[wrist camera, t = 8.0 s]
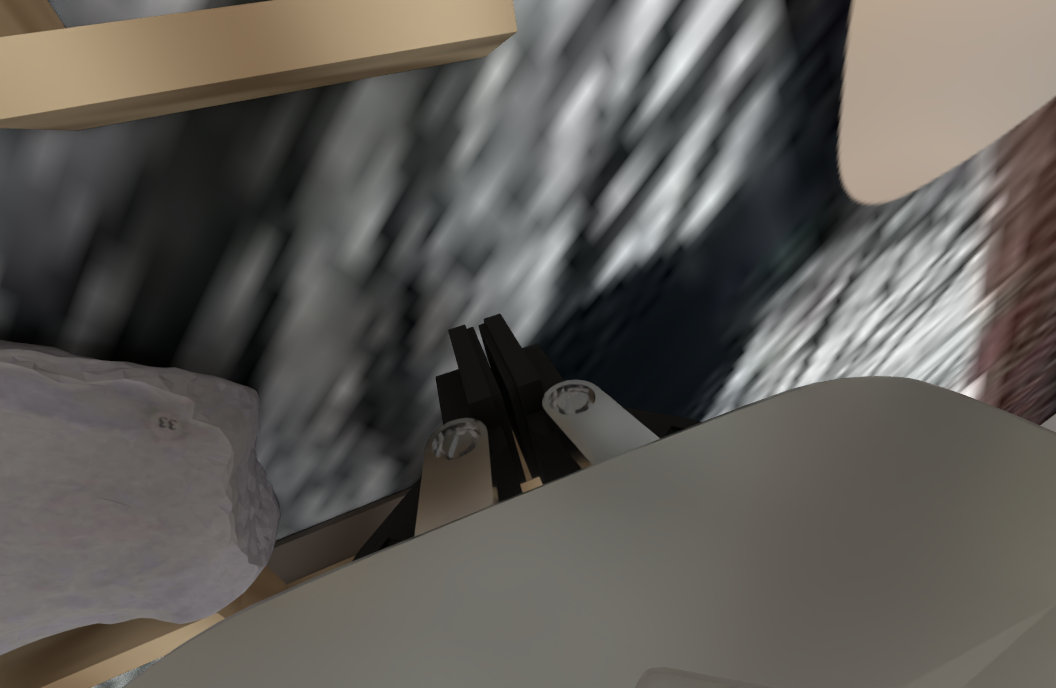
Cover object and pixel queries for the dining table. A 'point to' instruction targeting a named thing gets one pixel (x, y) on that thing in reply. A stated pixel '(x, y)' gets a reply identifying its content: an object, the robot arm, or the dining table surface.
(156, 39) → the box
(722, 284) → the dining table surface
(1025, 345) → the dining table surface
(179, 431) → the stone block
